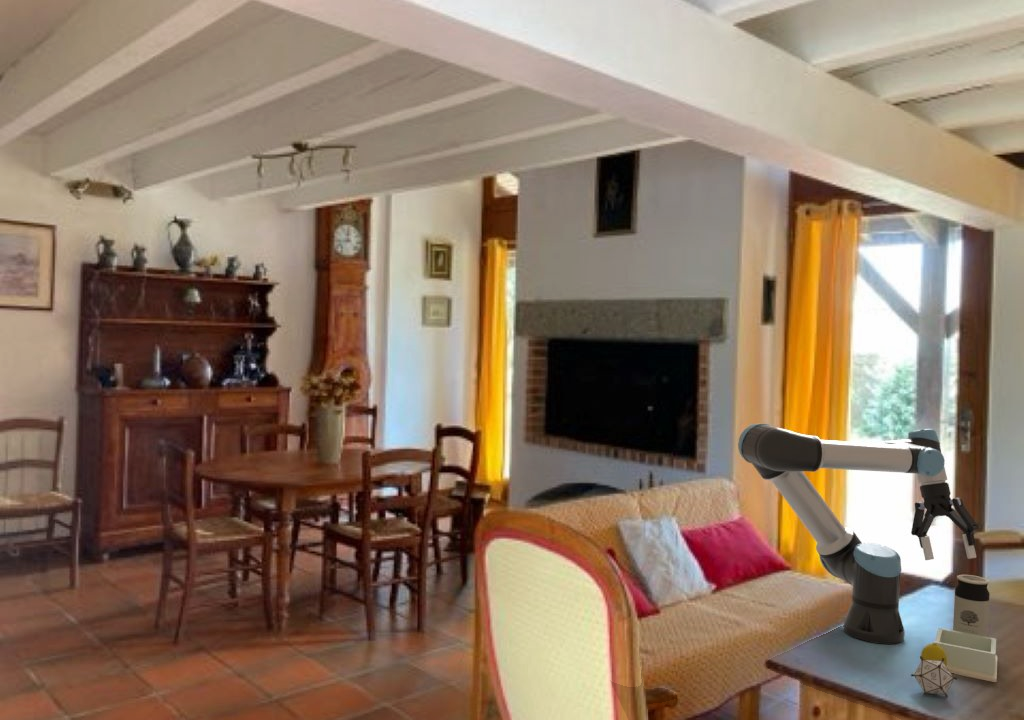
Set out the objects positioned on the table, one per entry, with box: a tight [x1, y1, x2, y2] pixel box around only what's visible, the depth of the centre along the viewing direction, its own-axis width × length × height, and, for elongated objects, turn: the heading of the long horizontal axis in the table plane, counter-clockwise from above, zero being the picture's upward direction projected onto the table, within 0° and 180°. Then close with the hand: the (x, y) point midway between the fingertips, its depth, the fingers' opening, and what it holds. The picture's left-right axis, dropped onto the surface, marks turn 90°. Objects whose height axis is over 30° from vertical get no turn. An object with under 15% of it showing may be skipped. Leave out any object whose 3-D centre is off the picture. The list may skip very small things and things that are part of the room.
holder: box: [934, 627, 998, 683], centre depth 209 cm, size 18×14×6 cm
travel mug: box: [952, 574, 991, 637], centre depth 221 cm, size 8×8×18 cm
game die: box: [910, 655, 959, 699], centre depth 189 cm, size 9×8×10 cm
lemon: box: [920, 642, 947, 665], centre depth 200 cm, size 6×6×8 cm
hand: (950, 559), depth 236 cm, fingers open, 13 cm apart
